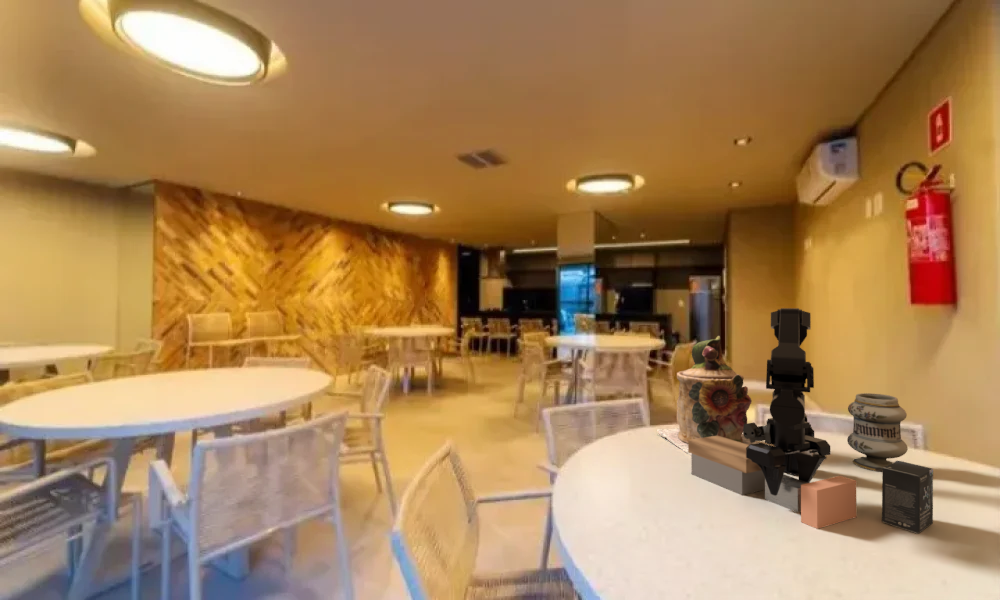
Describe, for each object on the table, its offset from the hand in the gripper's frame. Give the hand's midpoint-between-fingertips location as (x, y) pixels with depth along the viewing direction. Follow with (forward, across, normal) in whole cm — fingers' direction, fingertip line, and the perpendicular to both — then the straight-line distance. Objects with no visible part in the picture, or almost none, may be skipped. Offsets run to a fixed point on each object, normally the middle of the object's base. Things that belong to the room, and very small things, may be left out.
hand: (788, 491), depth 98 cm
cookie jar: (+3, -20, -38) cm, 43 cm away
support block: (+3, 0, 0) cm, 3 cm away
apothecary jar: (+3, -43, -6) cm, 43 cm away
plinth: (+2, 0, -14) cm, 14 cm away
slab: (-2, 0, -14) cm, 14 cm away
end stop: (+2, 0, +8) cm, 8 cm away
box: (+3, -12, +15) cm, 19 cm away
